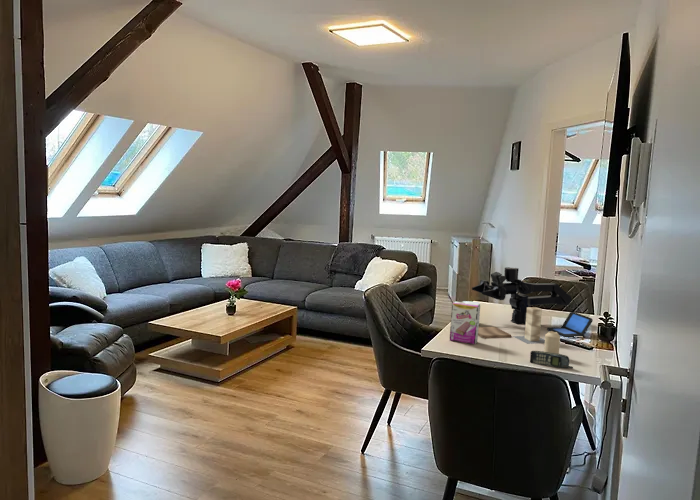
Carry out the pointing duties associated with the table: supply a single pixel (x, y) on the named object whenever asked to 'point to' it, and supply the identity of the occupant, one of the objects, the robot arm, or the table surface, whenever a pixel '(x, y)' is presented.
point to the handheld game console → (573, 325)
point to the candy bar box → (464, 322)
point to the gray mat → (529, 341)
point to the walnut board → (492, 332)
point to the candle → (552, 342)
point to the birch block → (533, 323)
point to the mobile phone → (550, 359)
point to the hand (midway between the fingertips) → (477, 290)
